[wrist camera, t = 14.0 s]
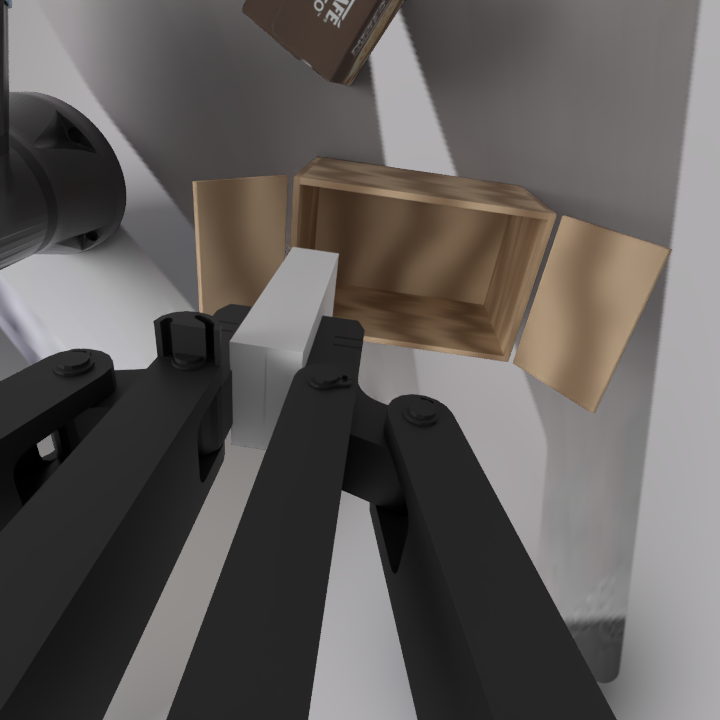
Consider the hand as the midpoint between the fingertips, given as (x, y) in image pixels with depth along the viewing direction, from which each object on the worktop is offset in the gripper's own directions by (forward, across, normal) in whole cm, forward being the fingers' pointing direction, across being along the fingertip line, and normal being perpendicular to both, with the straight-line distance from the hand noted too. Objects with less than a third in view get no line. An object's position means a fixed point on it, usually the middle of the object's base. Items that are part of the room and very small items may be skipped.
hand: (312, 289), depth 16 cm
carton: (+34, +5, -7) cm, 35 cm away
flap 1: (+19, -8, -7) cm, 22 cm away
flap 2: (+19, +18, -7) cm, 27 cm away
